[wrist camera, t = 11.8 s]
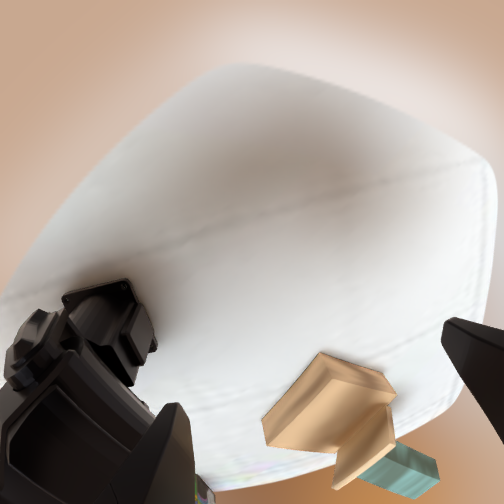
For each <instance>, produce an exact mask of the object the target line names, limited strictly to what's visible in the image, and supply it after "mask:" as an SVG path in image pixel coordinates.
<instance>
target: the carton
mask: <svg viewBox="0 0 504 504" xmlns="http://www.w3.org/2000/svg"><path fill="white" fill-rule="evenodd" d="M396 396H397V393H396V392H395V391H394V389H393V388H392V386H391V385H390V383H389V382H388V380H387V379H386V378H385V376H384V375H383V373H380V372H377V371H373V370H370V369H367V368H364V367H361V366H358V365H355V364H352V363H349V362H346V361H343V360H340V359H337V358H334V357H331V356H328V355H325V354H322V353H319V354H318V355H317V356H316V357H315V359H314V360H313V361H312V362H311V364H310V365H309V366H308V367H307V369H306V370H305V371H304V372H303V373H302V375H301V376H300V377H299V378H298V379H297V381H296V382H295V383H294V384H293V385H292V386H291V388H290V389H289V390H288V391H287V392H286V393H285V395H284V396H283V397H282V398H281V399H280V400H279V401H278V402H277V404H276V405H275V406H274V407H273V408H272V409H271V410H270V411H269V412H268V413H267V414H266V416H265V417H264V418H263V419H262V425H263V430H264V435H265V440H266V445H267V446H270V447H277V448H284V449H291V450H299V451H309V452H320V453H334V454H335V453H336V452H337V451H338V449H339V448H340V447H341V446H343V445H344V444H345V443H346V442H347V441H348V440H350V439H351V438H352V437H353V436H354V435H355V434H356V433H357V432H358V431H360V430H361V429H362V428H363V427H364V426H365V425H366V424H367V423H368V422H369V421H370V420H371V419H372V418H373V417H374V416H375V415H376V414H377V413H378V412H379V411H380V410H381V409H382V408H383V407H384V406H385V405H388V404H389V403H390V402H391V401H392V400H393V399H394V398H395V397H396Z"/></svg>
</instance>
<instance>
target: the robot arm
mask: <svg viewBox="0 0 504 504" xmlns="http://www.w3.org/2000/svg"><path fill="white" fill-rule="evenodd" d="M122 284H126V286H127V288H125V287H123V286H122ZM66 298H67V299H68V300H69V301H67V299H66ZM62 303H63V305H64V307H65V308H62V309H60V310H59V311H55V312H53V313H50V312H49V313H47V312H45V311H43V310H41V309H38V310H36V311H35V312H33V313H32V314H31V316H30V317H29V318H28V319H27V320H26V321H25V322H24V323H23V325H22V326H21V327H20V329H19V331H18V333H17V336H16V337H15V339H14V343H13V344H12V345H11V346H10V347H9V348H8V350H7V351H6V358H5V366H4V378H5V379H6V381H7V382H6V383H5V384H4V386H3V387H2V388H1V389H0V504H195V461H194V452H193V444H192V436H191V426H190V421H189V418H188V416H187V414H186V413H185V411H184V410H183V408H182V406H181V405H180V403H178V402H174V403H167V404H166V405H164V407H163V408H162V410H161V411H160V413H159V414H158V415H157V417H155V415H154V414H153V413H151V412H150V411H149V407H148V405H147V404H146V403H145V402H144V401H141V400H140V399H139V398H138V397H137V396H136V395H135V394H134V393H133V392H132V391H131V390H130V389H129V388H128V387H132V386H134V383H135V380H136V376H137V373H138V369H139V366H144V364H145V362H146V358H147V355H148V353H152V352H155V351H156V350H157V347H158V344H157V342H156V340H155V338H154V335H153V334H154V330H153V327H152V325H151V323H150V321H149V318H148V316H147V314H146V311H145V309H144V307H143V305H142V304H141V303H139V301H138V299H137V296H136V294H135V291H134V289H133V286H132V284H131V282H130V281H129V280H128V279H126V278H123V279H119V280H115V281H111V282H107V283H103V284H99V285H95V286H91V287H87V288H83V289H79V290H76V291H72V292H68V293H65V294H64V295H63V296H62ZM441 344H442V346H443V348H444V349H445V351H446V353H447V355H448V356H449V358H450V360H451V361H452V363H453V365H454V367H455V369H456V370H457V372H458V374H459V375H460V377H461V379H462V380H463V382H464V383H465V384H466V386H467V387H468V389H469V390H470V392H471V393H472V395H473V396H474V398H475V399H476V400H477V402H478V403H479V405H480V407H481V408H482V410H483V411H484V413H485V414H486V416H487V417H488V419H489V421H490V422H491V424H492V425H493V427H494V429H495V430H496V432H497V434H498V436H499V437H500V439H501V441H502V442H503V444H504V330H501V329H497V328H493V327H490V326H486V325H482V324H479V323H475V322H471V321H468V320H464V319H460V318H457V317H452V318H450V319H448V320H446V321H445V322H444V325H443V331H442V336H441ZM150 345H152V346H153V347H150Z"/></svg>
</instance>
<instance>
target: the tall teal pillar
mask: <svg viewBox="0 0 504 504" xmlns="http://www.w3.org/2000/svg"><path fill="white" fill-rule="evenodd" d="M356 477H358V478H360V479H362V480H364V481H367V482H369V483H372V484H374V485H376V486H379V487H381V488H384V489H387V490H389V491H392V492H394V493H397V494H400V495H403V496H406V497H409V498H411V499H416V498H417V497H419V496H420V495H421V494H423V493H424V492H426V491H427V490H428V489H430V488H431V487H433V486H434V485H435V484H436V483H438V482H439V481H440V478H439V473H438V469H437V465H436V461H435V459H433V458H431V457H429V456H427V455H424V454H422V453H420V452H418V451H416V450H414V449H412V448H410V447H408V446H406V445H404V444H402V443H400V442H398V441H396V440H395V433H394V426H393V419H392V412H391V408H390V407H389V406H387V405H385V406H384V407H383V408H382V409H381V410H380V411H379V412H378V413H377V414H376V415H375V416H374V417H373V418H372V419H371V420H370V421H369V422H368V423H367V424H366V425H365V426H364V427H363V428H362V429H361V430H360V431H358V432H357V433H356V434H355V435H354V436H353V437H352V438H351V439H350V440H348V441H347V442H346V443H345V444H344V445H343V446H341V447H340V448H339V449H338V452H337V459H336V465H335V471H334V477H333V482H332V488H333V489H335V490H338V489H340V488H341V487H343V486H344V485H346V484H347V483H349V482H350V481H352V480H353V479H355V478H356Z"/></svg>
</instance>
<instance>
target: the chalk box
mask: <svg viewBox="0 0 504 504" xmlns="http://www.w3.org/2000/svg"><path fill="white" fill-rule="evenodd" d="M195 504H215V495H214V493H213V492H212V491H211V490H210V489H209V488H208V487H207V486H206V484H205V483H204V482H203V481H202V480H201V478H200V477H199V476H198V475H195Z"/></svg>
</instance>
